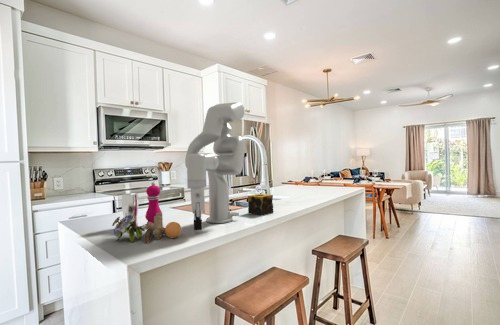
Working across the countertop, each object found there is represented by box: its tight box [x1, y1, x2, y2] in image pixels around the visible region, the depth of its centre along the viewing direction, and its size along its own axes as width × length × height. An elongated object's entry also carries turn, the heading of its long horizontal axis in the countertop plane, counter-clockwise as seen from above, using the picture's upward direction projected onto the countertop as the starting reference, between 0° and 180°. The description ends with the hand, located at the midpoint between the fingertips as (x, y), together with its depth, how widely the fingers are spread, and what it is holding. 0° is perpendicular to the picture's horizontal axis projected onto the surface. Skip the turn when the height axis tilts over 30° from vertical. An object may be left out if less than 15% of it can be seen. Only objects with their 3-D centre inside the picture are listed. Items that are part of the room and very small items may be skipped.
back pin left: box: [153, 216, 162, 241], centre depth 99 cm, size 2×2×8 cm
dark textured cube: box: [247, 193, 274, 216], centre depth 143 cm, size 10×10×10 cm
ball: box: [164, 221, 182, 239], centre depth 100 cm, size 6×6×6 cm
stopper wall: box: [143, 229, 155, 244], centre depth 101 cm, size 2×15×3 cm, turn 14°
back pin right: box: [156, 212, 164, 236], centre depth 105 cm, size 2×2×8 cm
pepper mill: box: [145, 181, 163, 225], centre depth 120 cm, size 7×7×20 cm
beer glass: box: [120, 192, 140, 228], centre depth 117 cm, size 7×7×15 cm
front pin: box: [147, 222, 168, 237], centre depth 102 cm, size 2×2×8 cm
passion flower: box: [111, 212, 148, 243], centre depth 100 cm, size 11×11×12 cm
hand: (197, 229), depth 105 cm, fingers closed
